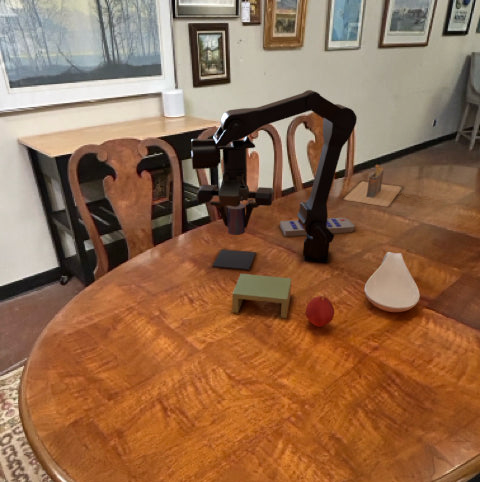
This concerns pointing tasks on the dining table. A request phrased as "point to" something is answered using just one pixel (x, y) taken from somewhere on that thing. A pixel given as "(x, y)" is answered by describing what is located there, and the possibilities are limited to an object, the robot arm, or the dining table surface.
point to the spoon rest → (392, 285)
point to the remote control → (332, 223)
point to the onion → (320, 311)
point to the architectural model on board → (374, 190)
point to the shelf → (262, 291)
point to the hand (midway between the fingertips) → (236, 226)
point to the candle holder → (236, 219)
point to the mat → (234, 259)
